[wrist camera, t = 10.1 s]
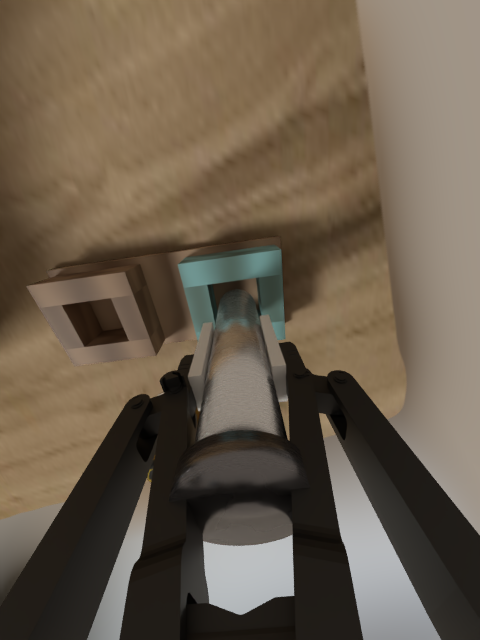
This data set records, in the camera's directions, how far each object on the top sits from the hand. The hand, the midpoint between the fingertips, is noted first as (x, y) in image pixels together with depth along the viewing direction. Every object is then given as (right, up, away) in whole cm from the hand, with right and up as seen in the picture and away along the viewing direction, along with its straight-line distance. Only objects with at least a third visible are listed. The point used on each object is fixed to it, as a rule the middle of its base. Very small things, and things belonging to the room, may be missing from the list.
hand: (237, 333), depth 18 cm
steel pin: (0, +3, +5) cm, 6 cm away
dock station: (-8, +4, +10) cm, 14 cm away
